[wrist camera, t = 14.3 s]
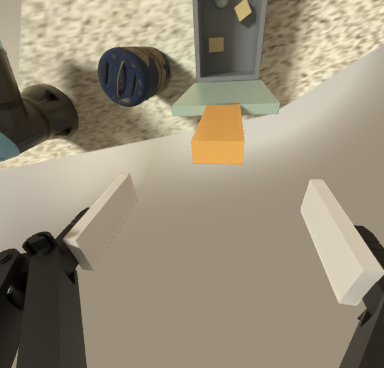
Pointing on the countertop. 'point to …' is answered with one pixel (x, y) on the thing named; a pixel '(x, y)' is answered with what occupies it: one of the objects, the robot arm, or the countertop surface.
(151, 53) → the canister
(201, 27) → the tub
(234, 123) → the lid
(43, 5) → the countertop surface
